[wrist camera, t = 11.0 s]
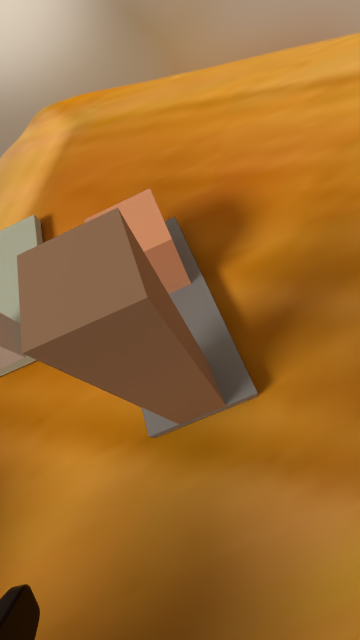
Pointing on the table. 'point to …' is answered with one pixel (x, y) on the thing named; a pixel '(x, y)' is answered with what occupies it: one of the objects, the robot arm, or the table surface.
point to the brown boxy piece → (129, 324)
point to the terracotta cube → (152, 238)
